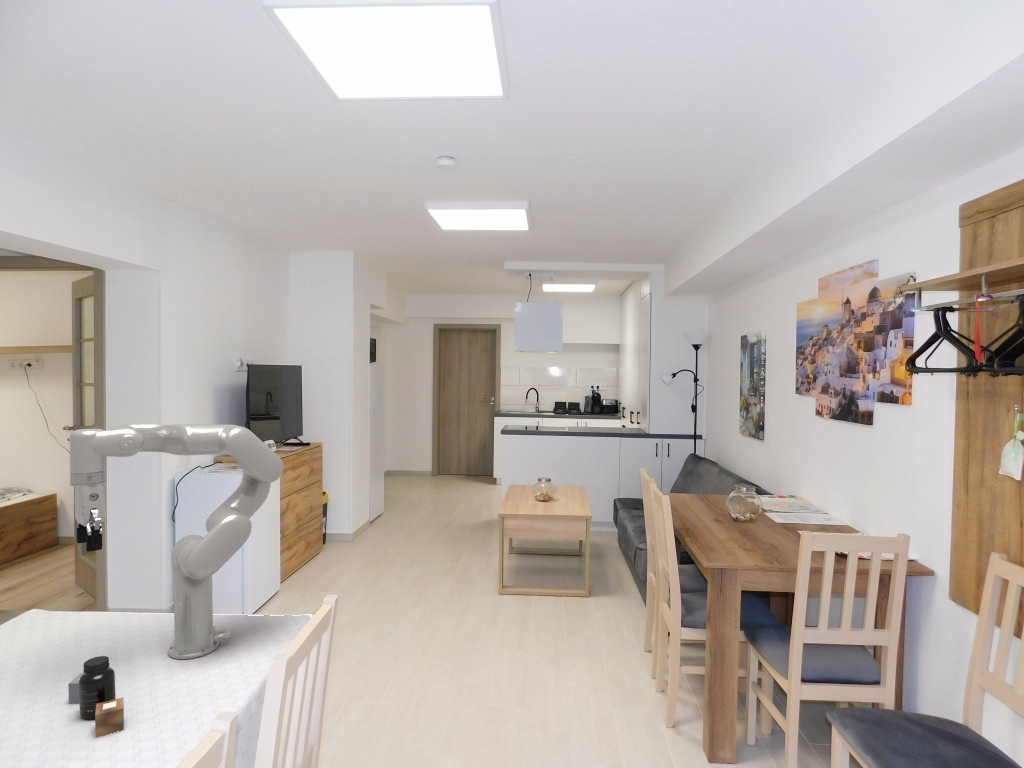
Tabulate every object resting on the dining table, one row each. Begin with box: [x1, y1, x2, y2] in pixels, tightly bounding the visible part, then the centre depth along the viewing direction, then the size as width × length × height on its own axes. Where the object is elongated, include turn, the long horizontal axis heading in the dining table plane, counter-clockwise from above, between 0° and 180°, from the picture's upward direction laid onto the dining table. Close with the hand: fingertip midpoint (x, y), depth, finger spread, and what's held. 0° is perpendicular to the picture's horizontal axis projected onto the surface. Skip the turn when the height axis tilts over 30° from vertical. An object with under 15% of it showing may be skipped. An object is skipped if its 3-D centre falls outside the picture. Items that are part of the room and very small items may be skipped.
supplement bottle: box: [78, 655, 117, 721], centre depth 138 cm, size 7×7×12 cm
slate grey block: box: [67, 672, 84, 705], centre depth 144 cm, size 5×5×5 cm
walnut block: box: [94, 697, 125, 738], centre depth 132 cm, size 5×5×5 cm
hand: (89, 546), depth 152 cm, fingers open, 9 cm apart
